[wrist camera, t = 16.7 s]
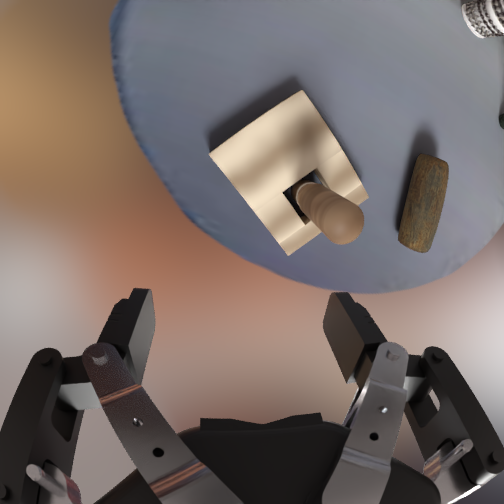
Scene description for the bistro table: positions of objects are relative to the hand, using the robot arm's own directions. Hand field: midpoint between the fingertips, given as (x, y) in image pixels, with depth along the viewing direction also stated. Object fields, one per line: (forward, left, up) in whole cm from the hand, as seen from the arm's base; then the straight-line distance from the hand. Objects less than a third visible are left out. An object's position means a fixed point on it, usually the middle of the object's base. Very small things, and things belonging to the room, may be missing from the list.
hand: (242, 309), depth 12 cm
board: (+3, +8, -27) cm, 28 cm away
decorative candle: (-3, +63, -27) cm, 69 cm away
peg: (+7, +8, -27) cm, 29 cm away
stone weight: (+19, +24, -27) cm, 41 cm away
